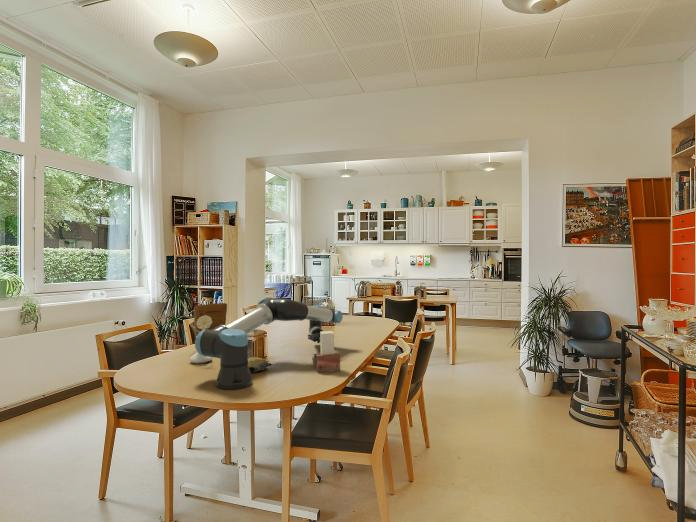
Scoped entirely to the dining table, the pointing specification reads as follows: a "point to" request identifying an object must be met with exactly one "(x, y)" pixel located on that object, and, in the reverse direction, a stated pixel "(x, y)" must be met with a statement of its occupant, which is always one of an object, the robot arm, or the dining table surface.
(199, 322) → the flower in vase
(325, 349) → the block
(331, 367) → the red brick
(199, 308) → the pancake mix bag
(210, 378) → the dining table surface
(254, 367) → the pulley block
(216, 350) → the robot arm
